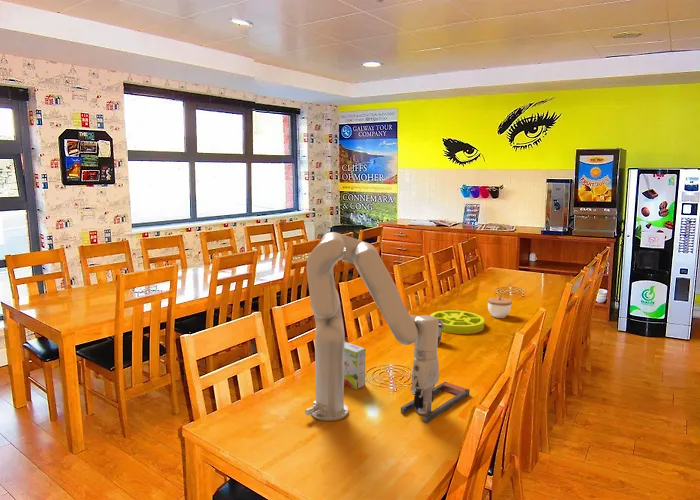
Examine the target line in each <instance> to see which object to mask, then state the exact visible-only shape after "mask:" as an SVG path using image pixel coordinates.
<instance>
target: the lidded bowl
mask: <svg viewBox="0 0 700 500" xmlns="http://www.w3.org/2000/svg"><path fill="white" fill-rule="evenodd" d="M512 303H513V302H512V300H511V299H509V298H507V297H506V298H505V297H502V296H495V297H494V296H493V297H489V298H487V310H488V312H489V314H490V315H491V316H492V317H493V318H496V319H505V318H506V317H507V316H509V314H510V312H511V308H512Z"/></svg>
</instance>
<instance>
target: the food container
mask: <svg viewBox="0 0 700 500" xmlns="http://www.w3.org/2000/svg"><path fill="white" fill-rule="evenodd" d="M442 328H444V324H443V322H442V321H440V320H438V345H439V346H440V345H441V341H442V336H443V335H442V334H443V331H442Z"/></svg>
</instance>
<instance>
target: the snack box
mask: <svg viewBox="0 0 700 500" xmlns="http://www.w3.org/2000/svg"><path fill="white" fill-rule="evenodd" d="M366 354H367V353H366V348H365V347H362V346H359V345H356V344H354V343H350V342H347V341H345V347H344V386H347V387H349V388H351V389H354V390H359V389H360V388H361V389H362V388H363V387H365V386H366V364H367V363H366V362H367V361H366Z"/></svg>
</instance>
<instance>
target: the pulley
mask: <svg viewBox="0 0 700 500" xmlns="http://www.w3.org/2000/svg"><path fill="white" fill-rule="evenodd" d="M429 316H434V317H436V318H437V319H438V320H440V321H442V322H443V324H444V328H442V333H443V332H444V333H447V334H448V333H449V334H450V333H451V334H455V335H458V334H459V335H469V334H476V333H477V334H478V333H479V332H481V331H483V330H484V329H485V318H484V317H483V316H481V315H480V314H477V313H474V312H471V311H464V310H456V309H455V310H452V309H450V310H439V311H435V312H432V313H430V315H429Z"/></svg>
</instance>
